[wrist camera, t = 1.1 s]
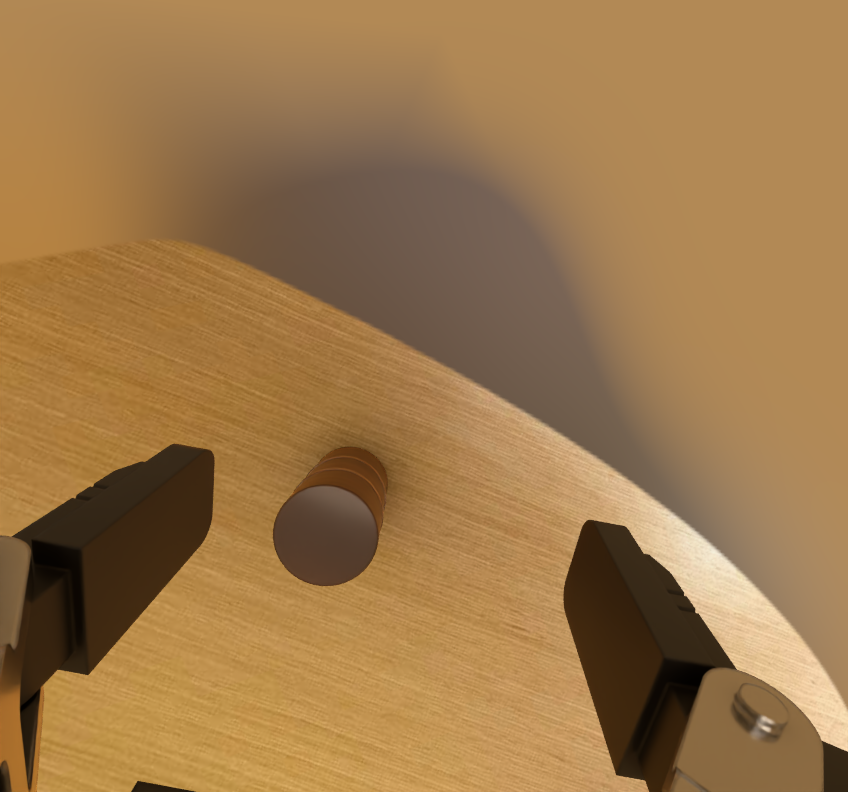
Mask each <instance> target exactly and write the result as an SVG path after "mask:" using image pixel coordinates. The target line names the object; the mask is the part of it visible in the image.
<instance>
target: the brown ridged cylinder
mask: <svg viewBox="0 0 848 792" xmlns="http://www.w3.org/2000/svg"><path fill="white" fill-rule="evenodd" d="M387 486H388V482H387V475H386V472H385V469H384V467H383V465H382V464H381V463H380V461H379V460H378V459H377V458H376V457H375V456H374V455H373V454H371V453H370V452H368V451H366V450H363V449H360V448H356V447H344V448H339V449H336V450H334V451H332V452H330V453H328V454H327V455H326V456H325V457H323V458H322V459H321V461H320V462H319V463H318V464H317V465H316V466H315V467H314V468H313V469H312V470H311V471H310V472H309V473H308V475H307V476H306V478H305V479H304V480H303V481H302V482H301V483H300V484H299V485H298V486H297V488H296V489H295V490H294V492H293V494H292V495H291V496H290V497H289V498H288V500H287V501H286V502H285V503H284V504H283V506H282V507H281V509H280V510H279V512H278V514H277V517H276V520H275V523H274V528H273V541H274V546H275V550H276V552H277V555H278V557H279V559H280V561H281V562H282V564H283V565H284V567H285V568H286V569H287V570H288V571H289V572H290V573H292V574H293V575H294V576H295V577H297V578H299V579H300V580H302V581H304V582H307V583H310V584H313V585H319V586H333V585H339V584H342V583H345V582H348V581H350V580H352V579H353V578H355V577H357V576H358V575H359V574H361V573H362V572H363V571H364V570H365V569H366V568H367V567H368V565H369V564H370V562H371V561H372V559H373V557H374V555H375V552H376V549H377V545H378V540H379V534H380V530H381V527H382V523H383V512H384V509H385V505H386V494H387Z"/></svg>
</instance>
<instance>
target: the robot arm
mask: <svg viewBox="0 0 848 792" xmlns="http://www.w3.org/2000/svg"><path fill="white" fill-rule="evenodd" d="M213 486H214V455H213V453H212V451H210V450H207V449H201V448H196V447H190V446H185V445H179V444H172V445H170V446H168V447H167V448H165V449H164V450H162V451H161V452H160V453H158V454H157V455H155V456H154V457H152V458H151V459H149V460H148V461H146V462H139V463H136V464H133V465H130V466H127V467H124V468H121V469H118V470H116V471H114V472H112V473H110V474H109V475H107V476H106V477H104V478H103V479H101V480H99V481H98V482H96V483H95V484H94V486H93V487H89V488H87V489H85V490H84V491H82V492H81V493H79V494H78V495H77V496H76V498H75V499H74V498H71V499H70V500H68V501H67V502H65V503H64V504H62V505H60V506H59V507H57V508H56V509H54V510H53V511H51V512H50V513H48V514H46V515H45V516H43V517H42V518H40V519H39V520H37V521H35V522H34V523H32V524H31V525H29V526H28V527H26V528H25V529H23V530H21V531H20V532H18V533H17V534H15V535H14V536H12V537H9V536H0V792H37V781H38V768H39V756H40V744H41V732H42V720H43V708H44V688H43V684H44V683H45V682H46V681H47V680H48V679H49V678H50V677H51V676H52V675H53V674H54V673H55V672H56V671H57V670H64V671H69V672H74V673H80V674H85V675H89V674H90V672H91V671H92V670H93V669H94V668H95V667H96V665H97V664H98V663H99V662H100V661H101V660H102V659H103V657H104V656H105V655H106V654H107V653H108V652H109V650H110V649H111V648H112V647H113V646H114V645H115V644H116V642H117V641H118V640H119V639H120V638H121V637H122V635H123V634H124V633H125V632H126V631H127V630H128V629H129V627H130V626H131V625H132V624H133V623H134V622H135V620H136V619H137V618H138V617H139V616H140V615H141V614H142V612H143V611H144V610H145V609H146V608H147V607H148V605H149V604H150V603H151V602H152V601H153V600H154V599H155V597H156V596H157V595H158V594H159V593H160V592H161V590H162V589H163V588H164V587H165V586H166V585H167V584H168V582H169V581H170V580H171V579H172V578H173V577H174V575H175V574H176V573H177V572H178V571H179V570H180V569H181V567H182V566H183V565H184V564H185V563H186V562H187V560H188V559H189V558H190V557H191V556H192V555H193V553H194V552H195V551H196V550H197V549H198V548H199V547H200V545H201V544H202V543H203V541H204V539H205V538H206V535H207V533H208V531H209V528H210V525H211V520H212V511H213ZM564 609H565V614H566V617H567V620H568V623H569V626H570V629H571V633H572V636H573V639H574V642H575V645H576V649H577V652H578V655H579V658H580V661H581V664H582V668H583V671H584V674H585V677H586V680H587V683H588V687H589V690H590V693H591V696H592V699H593V703H594V706H595V709H596V712H597V715H598V718H599V722H600V725H601V728H602V731H603V734H604V737H605V741H606V744H607V747H608V750H609V753H610V757H611V760H612V763H613V766H614V769H615V772H616V775H619V776H624V777H629V778H635V779H640V780H645V781H646V784H647V787H648V789H649V792H848V752H847V751H844V750H842V749H840V748H837V747H835V746H833V745H830V744H828V743H826V742H823V741H821V738H820V736H819V734H818V732H817V730H816V729H815V727H814V726H813V724H812V723H811V721H810V720H809V719H808V718H807V716H806V715H805V714H804V713H803V712H802V711H801V710H800V709H799V708H798V707H797V706H796V705H795V704H794V703H793V702H792V701H791V700H789V699H788V698H787V697H786V696H784V695H783V694H782V693H780V692H779V691H778V690H776V689H775V688H773V687H772V686H770V685H769V684H767V683H765V682H764V681H762V680H760V679H758V678H756V677H754V676H752V675H749V674H747V673H745V672H742V671H739V670H737V669H736V668H735V666H734V665H733V663H732V662H731V660H730V659H729V658H728V656H727V655H726V653H725V652H724V650H723V649H722V647H721V646H720V644H719V643H718V641H717V640H716V639H715V637H714V636H713V634H712V633H711V631H710V630H709V628H708V627H707V625H706V624H705V622H704V621H703V620H702V618H701V617H700V615H699V614H697V613H695V608H694V606H693V605H692V603H691V602H690V601H689V599H688V598H687V597H686V596H684V592H683V590H682V589H681V587H680V586H679V585H678V583H677V582H676V580H675V579H674V577H673V576H672V574H671V573H670V572H669V571H668V570H667V569H665V568H664V567H663V566H662V565H661V564H660V563H658V562H657V561H656V560H655V559H654V558H653V557H651V556H650V555H648V554H644V553H643V552H642V550H641V549H640V547H639V546H638V544H637V543H636V541H635V539H634V538H633V536H632V535H631V533H630V532H629V530H628V529H627V528H626V527H625V526H621V525H616V524H610V523H605V522H599V521H594V520H587V521H586V522H585V523H584V525H583V527H582V529H581V532H580V536H579V539H578V542H577V545H576V549H575V552H574V555H573V558H572V561H571V565H570V568H569V571H568V574H567V578H566V581H565V586H564ZM131 792H194V791H189V790H184V789H178V788H173V787H168V786H162V785H157V784H151V783H146V782H141V781H137V783H136V785H135V786H134V788H133V790H132V791H131Z"/></svg>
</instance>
